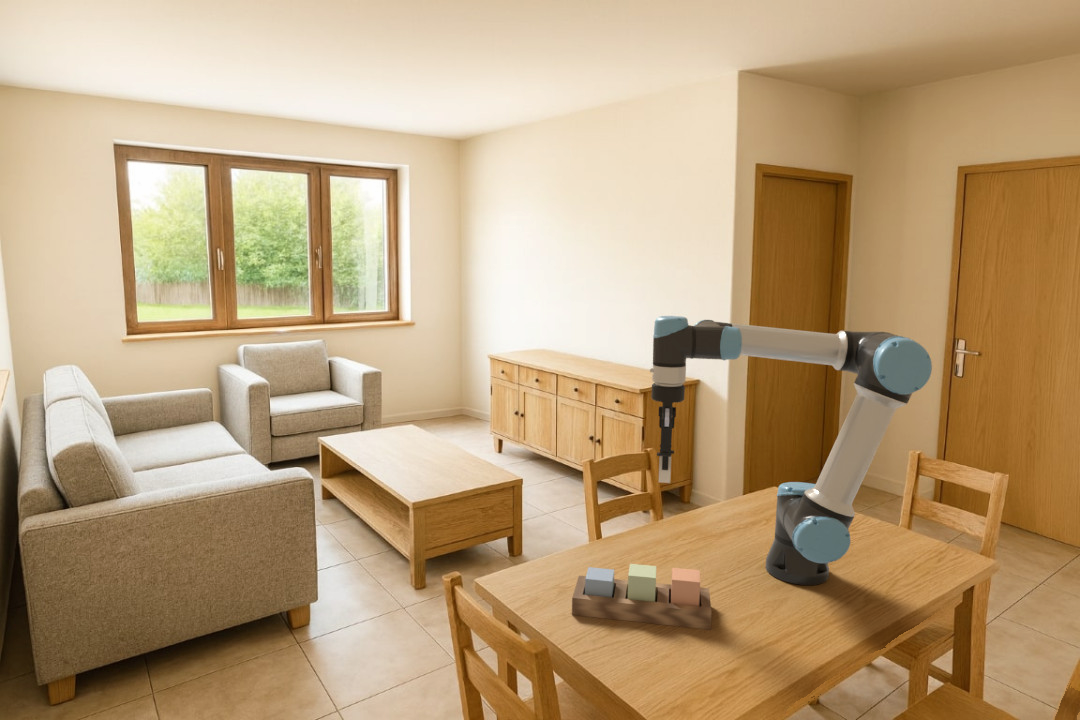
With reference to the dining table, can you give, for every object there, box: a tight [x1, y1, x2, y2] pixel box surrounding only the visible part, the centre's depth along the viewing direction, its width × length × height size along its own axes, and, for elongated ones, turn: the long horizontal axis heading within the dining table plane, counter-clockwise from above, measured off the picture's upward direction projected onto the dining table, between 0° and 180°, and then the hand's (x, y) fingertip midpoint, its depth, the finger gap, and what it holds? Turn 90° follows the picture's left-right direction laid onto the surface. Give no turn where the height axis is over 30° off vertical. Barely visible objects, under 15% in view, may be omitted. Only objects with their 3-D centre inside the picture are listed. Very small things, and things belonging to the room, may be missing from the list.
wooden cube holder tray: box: [571, 575, 712, 631], centre depth 157 cm, size 30×11×4 cm, turn 79°
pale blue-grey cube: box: [585, 566, 615, 598], centre depth 159 cm, size 6×6×7 cm
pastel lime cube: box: [627, 563, 657, 602], centre depth 157 cm, size 6×6×7 cm
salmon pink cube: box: [670, 567, 701, 606], centre depth 155 cm, size 6×6×7 cm
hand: (664, 481), depth 164 cm, fingers closed
